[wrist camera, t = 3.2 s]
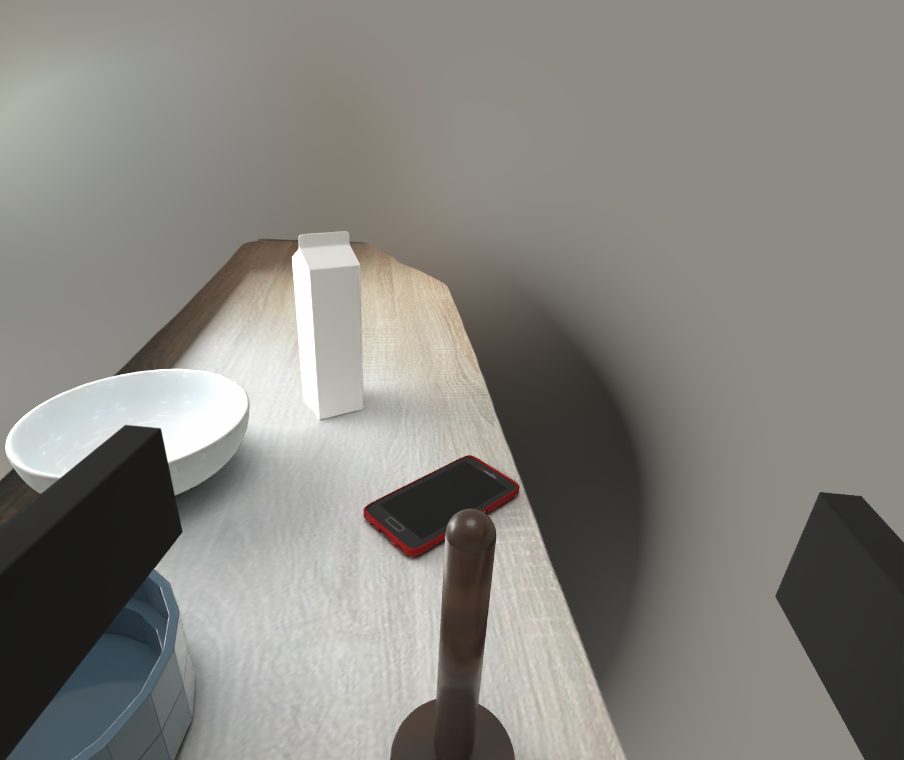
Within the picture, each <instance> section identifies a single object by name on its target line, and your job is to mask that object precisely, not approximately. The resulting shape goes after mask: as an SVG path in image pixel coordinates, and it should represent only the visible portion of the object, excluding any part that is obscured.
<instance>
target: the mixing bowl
mask: <svg viewBox="0 0 904 760" xmlns="http://www.w3.org/2000/svg"><path fill="white" fill-rule="evenodd" d="M195 682H196V680H195V675H194V670H193V666H192V662H191V658H190V653H189V649H188V645H187V641H186V636H185V632H184V628H183V624H182V620H181V615H180V611H179V608H178V605H177V602H176V599H175V596H174V594H173V591H172V588H171V585H170V583H169V582H168V581H167V580H166V579H165V578H164V577H163V576H161V575H160V574H159V573H158V572H157V571H156V570H155V569H153V571H152V572H151V573H150V575H149V576H148V577H147V578H146V580H145V581H144V582H143V584H142V585H141V586H140V587H139V589H138V590H137V591H136V593H135V594H134V595H133V596H132V598H131V599H130V600H129V602H128V603H127V604H126V605H125V607H124V608H123V609H122V611H121V612H120V613H119V615H118V616H117V617H116V618H115V620H114V621H113V622H112V624H111V625H110V626H109V627H108V629H107V630H106V631H105V633H104V634H103V635H102V636H101V638H100V639H99V640H98V642H97V643H96V644H95V645H94V647H93V648H92V649H91V651H90V652H89V653H88V654H87V656H86V657H85V658H84V660H83V661H82V662H81V663H80V665H79V666H78V667H77V669H76V670H75V671H74V672H73V674H72V675H71V676H70V678H69V679H68V680H67V681H66V683H65V684H64V685H63V687H62V688H61V689H60V691H59V692H58V693H57V694H56V696H55V697H54V698H53V700H52V701H51V702H50V703H49V705H48V706H47V707H46V709H45V710H44V711H43V712H42V714H41V715H40V716H39V718H38V719H37V720H36V721H35V723H34V724H33V725H32V727H31V728H30V729H29V730H28V732H27V733H26V734H25V736H24V737H23V738H22V739H21V741H20V742H19V743H18V745H17V746H16V747H15V748H14V750H13V751H12V752H11V754H10V755H9V756H8V758H7V759H6V760H174V759H175V757H176V754H177V752H178V750H179V747H180V745H181V743H182V740H183V738H184V736H185V733H186V731H187V729H188V726H189V724H190V722H191V719H192V713H193V703H194V692H195Z"/></svg>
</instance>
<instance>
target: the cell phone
mask: <svg viewBox="0 0 904 760" xmlns="http://www.w3.org/2000/svg"><path fill="white" fill-rule="evenodd" d="M452 463H453V464H452ZM452 463H450V464H451V465H450V464H448V465H449V466H448V465H446V466H447V467H446V466H444V467H445V468H444V467H442V468H443V469H442V468H440V469H441V470H440V469H438V470H439V471H438V470H436V471H437V472H436V471H434V472H432V473H430V474H428V475H426V476H424V477H422V478H420V479H418V480H416V481H414V482H412V483H410V484H408V485H406V486H404V487H402V488H400V489H398V490H396V491H394V492H392V493H390V494H388V495H386V496H384V497H382V498H380V499H378V500H376V501H374V502H372V503H370V504H369V505H367V506H366V507H365V508H364V517H365V519H366V520H367V521H368V522H369V523H370V524H371V525H374V527H375V528H376V529H377V530H378V531H379V532H382V531H383V532H384V533H385V534H386V535H387V536H388V539H389V540H390V541H391V542H392V543H393V544H394V545H395V546H397V547H398V548H399V549H400V550H401V551H402V552H404V553H405V554H406V555H408V556H411V557H414V556H417V555H419V554H422V553H423V552H425V551H427V550H428V549H430V548H432V547H433V546H435V545H436V544H438V543H440V542H441V541H443V540H444V539H445V536H446V528H447V525H448V523H449V521H450V519H451V518H452V517H453V516H454V515H455V514H456V513H458V512H460V511H462V510H465V509H476V510H480V511H482V512H484V513H485V514H487V513H489V512H491V511H492V510H494V509H495V508H497V507H499V506H500V505H502V504H503V503H505V502H507V501H508V500H510V499H511V498H513V497H515V496H516V495H517V494H518V493H519V485H518V484H517V483H516V482H515V481H513V480H512V479H510V478H509V477H507V476H505V475H504V474H502V473H501V472H499V471H497V470H496V469H494V468H492V467H491V466H489V465H488V464H486V463H484V462H483V461H481V460H480V459H478V458H476V457H474V456H470V455H468V456H465V457H462V458H460V459H458V460H456V461H454V462H452Z"/></svg>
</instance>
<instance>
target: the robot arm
mask: <svg viewBox="0 0 904 760" xmlns="http://www.w3.org/2000/svg"><path fill="white" fill-rule="evenodd" d="M181 533H182V527H181V522H180V517H179V512H178V508H177V503H176V498H175V493H174V488H173V484H172V479H171V474H170V469H169V464H168V460H167V455H166V450H165V445H164V440H163V436H162V431H161V428H153V427H143V426H133V425H124V426H123V427H122V428H121V429H120V430H118V431H117V432H116V433H115V434H113V435H112V436H111V437H110V438H109V439H107V440H106V441H105V442H104V443H102V444H101V445H100V446H99V447H98V448H96V449H95V450H94V451H93V452H91V453H90V454H89V455H88V456H86V457H85V458H84V459H83V460H82V461H80V462H79V463H78V464H77V465H75V466H74V467H73V468H72V469H71V470H69V471H68V472H67V473H66V474H64V475H63V476H62V477H61V478H60V479H58V480H57V481H56V482H55V483H53V484H52V485H51V486H50V487H49V488H47V489H46V490H45V491H44V492H42V493H41V494H40V495H39V496H38V497H36V498H35V499H34V500H33V501H31V502H30V503H29V504H28V505H27V506H25V507H24V508H23V509H22V510H20V511H19V512H18V513H17V514H16V515H14V516H13V517H12V518H11V519H9V520H8V521H7V522H6V523H5V524H3V525H2V526H1V527H0V760H6V759H7V758H8V756H9V755H10V754H11V752H12V751H13V750H14V748H15V747H16V746H17V745H18V743H19V742H20V741H21V739H22V738H23V737H24V736H25V734H26V733H27V732H28V730H29V729H30V728H31V727H32V725H33V724H34V723H35V721H36V720H37V719H38V718H39V716H40V715H41V714H42V712H43V711H44V710H45V709H46V707H47V706H48V705H49V703H50V702H51V701H52V700H53V698H54V697H55V696H56V694H57V693H58V692H59V691H60V689H61V688H62V687H63V685H64V684H65V683H66V681H67V680H68V679H69V678H70V676H71V675H72V674H73V672H74V671H75V670H76V669H77V667H78V666H79V665H80V663H81V662H82V661H83V660H84V658H85V657H86V656H87V654H88V653H89V652H90V651H91V649H92V648H93V647H94V645H95V644H96V643H97V642H98V640H99V639H100V638H101V636H102V635H103V634H104V633H105V631H106V630H107V629H108V627H109V626H110V625H111V624H112V622H113V621H114V620H115V618H116V617H117V616H118V615H119V613H120V612H121V611H122V609H123V608H124V607H125V605H126V604H127V603H128V602H129V600H130V599H131V598H132V596H133V595H134V594H135V593H136V591H137V590H138V589H139V587H140V586H141V585H142V584H143V582H144V581H145V580H146V578H147V577H148V576H149V575H150V573H151V572H152V571H153V569H154V568H155V567H156V566H157V564H158V563H159V562H160V560H161V559H162V558H163V557H164V555H165V554H166V553H167V551H168V550H169V549H170V548H171V546H172V545H173V544H174V542H175V541H176V540H177V538H178V537H179V536H180V535H181ZM776 598H777V600H778V602H779V604H780V606H781V608H782V609H783V611H784V613H785V615H786V617H787V619H788V620H789V622H790V624H791V626H792V628H793V629H794V631H795V633H796V635H797V637H798V639H799V641H800V642H801V644H802V646H803V648H804V649H805V651H806V653H807V655H808V657H809V659H810V660H811V662H812V664H813V666H814V667H815V669H816V672H817V673H818V675H819V677H820V679H821V681H822V682H823V684H824V686H825V688H826V690H827V692H828V693H829V695H830V697H831V699H832V701H833V703H834V704H835V706H836V708H837V710H838V711H839V714H840V715H841V717H842V719H843V721H844V722H845V725H846V726H847V728H848V730H849V732H850V734H851V735H852V737H853V739H854V741H855V743H856V744H857V746H858V748H859V750H860V752H861V754H862V756H863V757H864V759H865V760H904V542H903V541H902V540H901V539H900V538H899V537H898V536H897V535H896V534H895V533H894V531H893V530H892V529H891V528H890V527H889V526H888V525H887V524H886V523H885V522H884V521H883V519H882V518H881V517H880V516H879V515H878V514H877V513H876V512H875V511H874V510H873V508H872V507H871V506H870V505H869V504H868V503H867V502H866V501H865V500H864V499H863V498H862V496H854V495H844V494H833V493H823V492H820V493H819V495H818V498H817V500H816V502H815V505H814V507H813V510H812V512H811V514H810V516H809V519H808V521H807V524H806V526H805V528H804V530H803V533H802V535H801V537H800V540H799V542H798V544H797V547H796V549H795V551H794V554H793V556H792V558H791V561H790V563H789V565H788V568H787V570H786V573H785V575H784V577H783V579H782V582H781V584H780V587H779V589H778V591H777V593H776Z"/></svg>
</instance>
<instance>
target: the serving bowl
mask: <svg viewBox="0 0 904 760" xmlns="http://www.w3.org/2000/svg"><path fill="white" fill-rule="evenodd" d="M249 406H250V405H249V398H248V395H247V393H246V391H245V390H244V389H243V388H242V387H241V386H240V385H239V384H238V383H236V382H235V381H233V380H231V379H229V378H227V377H225V376H222V375H219V374H215V373H211V372H206V371H199V370H190V369H161V370H150V371H141V372H134V373H128V374H123V375H118V376H113V377H109V378H105V379H101V380H97V381H94V382H91V383H88V384H85V385H82V386H79V387H76V388H74V389H71V390H69V391H67V392H64V393H62V394H60V395H57V396H55V397H53V398H51V399H49V400H48V401H46V402H44V403H42V404H41V405H39V406H37V407H36V408H35V409H33V410H32V411H30V412H29V413H28V414H26V415H25V416H24V417H23V418H22V419H21V420H20V421H19V422H18V423H17V424H16V425H15V426H14V427H13V429H12V430H11V432H10V433H9V435H8V437H7V440H6V446H5V448H6V454H7V457H8V459H9V461H10V462H11V464H12V465H13V467H14V469H15V470H16V471H17V473H18V474H19V475H20V477H21V478H22V479H23V480H24V481H25V482H26V483H27V484H28V485H29V486H30V487H31V488H33V489H34V490H35V491H37V492H39V493H40V494H41V493H42V492H44V491H45V490H46V489H47V488H49V487H50V486H51V485H52V484H53V483H55V482H56V481H57V480H58V479H60V478H61V477H62V476H63V475H64V474H66V473H67V472H68V471H69V470H71V469H72V468H73V467H74V466H75V465H77V464H78V463H79V462H80V461H82V460H83V459H84V458H85V457H86V456H88V455H89V454H90V453H91V452H93V451H94V450H95V449H96V448H98V447H99V446H100V445H101V444H102V443H104V442H105V441H106V440H107V439H109V438H110V437H111V436H112V435H113V434H115V433H116V432H117V431H118V430H120V429H121V428H122V427H123V426H124V425H133V426H143V427H153V428H161V431H162V436H163V440H164V445H165V450H166V455H167V460H168V464H169V469H170V474H171V479H172V484H173V488H174V493H175V495H178V494H180V493H182V492H185V491H187V490H189V489H191V488H193V487H195V486H196V485H198V484H200V483H202V482H203V481H205V480H206V479H208V478H209V477H211V476H212V475H213V474H215V473H216V472H217V471H218V470H220V469H221V468H222V467H223V466H224V465H225V464H226V463H227V462H228V461H229V460H230V459H231V457H232V456H233V455H234V454H235V452H236V451H237V449H238V448H239V446H240V444H241V442H242V440H243V438H244V436H245V433H246V430H247V426H248V419H249Z"/></svg>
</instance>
